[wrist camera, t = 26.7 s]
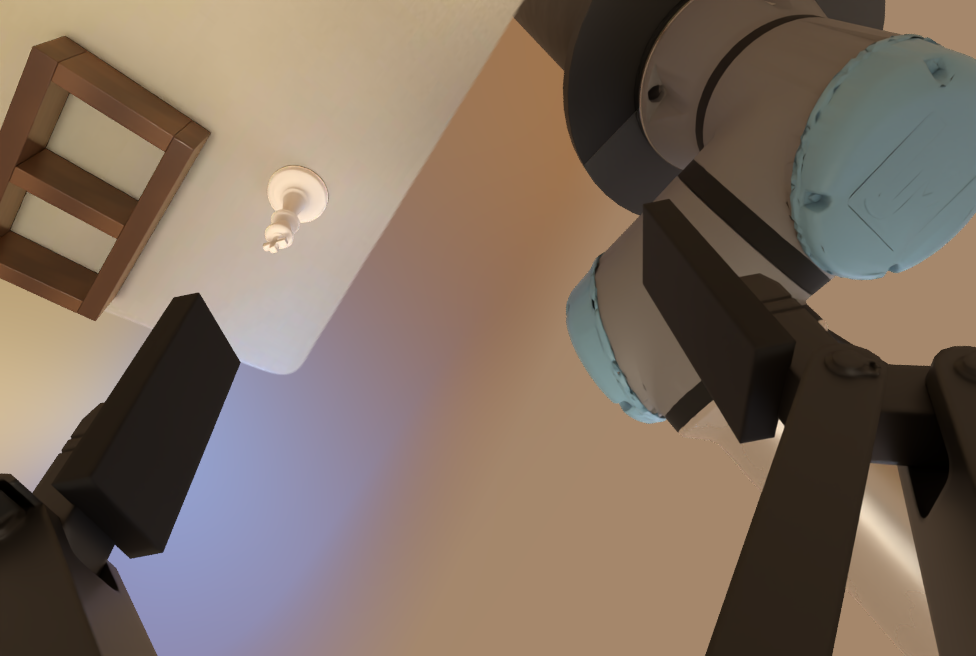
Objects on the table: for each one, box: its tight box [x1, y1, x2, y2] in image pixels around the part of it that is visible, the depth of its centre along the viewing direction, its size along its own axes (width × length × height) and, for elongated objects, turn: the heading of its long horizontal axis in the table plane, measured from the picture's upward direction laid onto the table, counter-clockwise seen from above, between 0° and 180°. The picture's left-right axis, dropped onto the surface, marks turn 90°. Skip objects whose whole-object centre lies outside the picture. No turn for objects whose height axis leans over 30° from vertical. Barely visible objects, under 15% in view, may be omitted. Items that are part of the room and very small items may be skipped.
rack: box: [0, 36, 210, 321], centre depth 43 cm, size 10×20×4 cm, turn 139°
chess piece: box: [263, 166, 328, 253], centre depth 43 cm, size 5×5×10 cm
